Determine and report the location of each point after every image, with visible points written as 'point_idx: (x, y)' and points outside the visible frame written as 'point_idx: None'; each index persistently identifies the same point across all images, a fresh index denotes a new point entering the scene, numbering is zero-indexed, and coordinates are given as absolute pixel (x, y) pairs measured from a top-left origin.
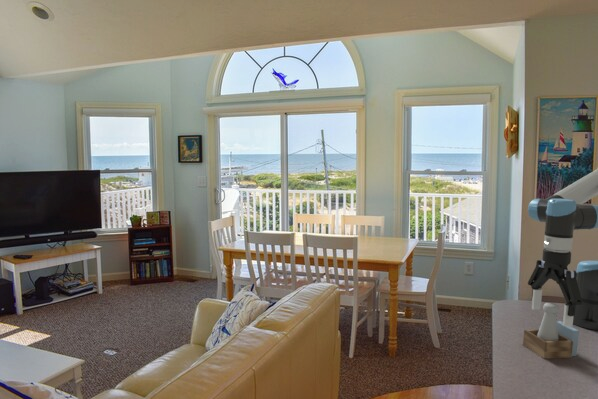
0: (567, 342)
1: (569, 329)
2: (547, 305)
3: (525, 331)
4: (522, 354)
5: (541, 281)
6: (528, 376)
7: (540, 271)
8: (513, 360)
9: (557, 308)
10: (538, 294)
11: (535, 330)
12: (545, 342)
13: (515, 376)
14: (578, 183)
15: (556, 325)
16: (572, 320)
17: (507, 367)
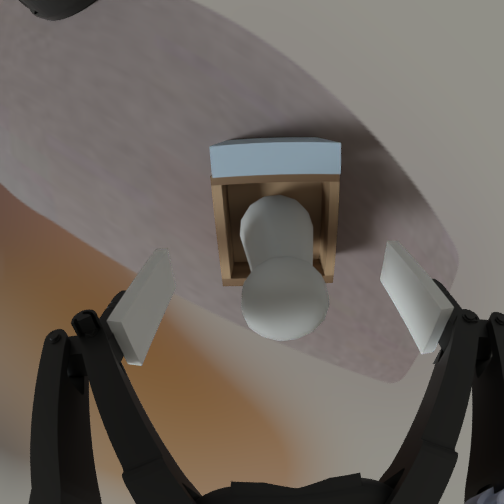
0: (338, 196)
1: (315, 172)
2: (292, 339)
3: (230, 284)
4: None
5: (153, 429)
6: (382, 334)
7: (77, 469)
8: (317, 329)
9: (328, 298)
10: (141, 321)
11: (226, 249)
12: (332, 281)
13: (374, 353)
14: None
15: (307, 240)
16: (408, 256)
17: (342, 352)
